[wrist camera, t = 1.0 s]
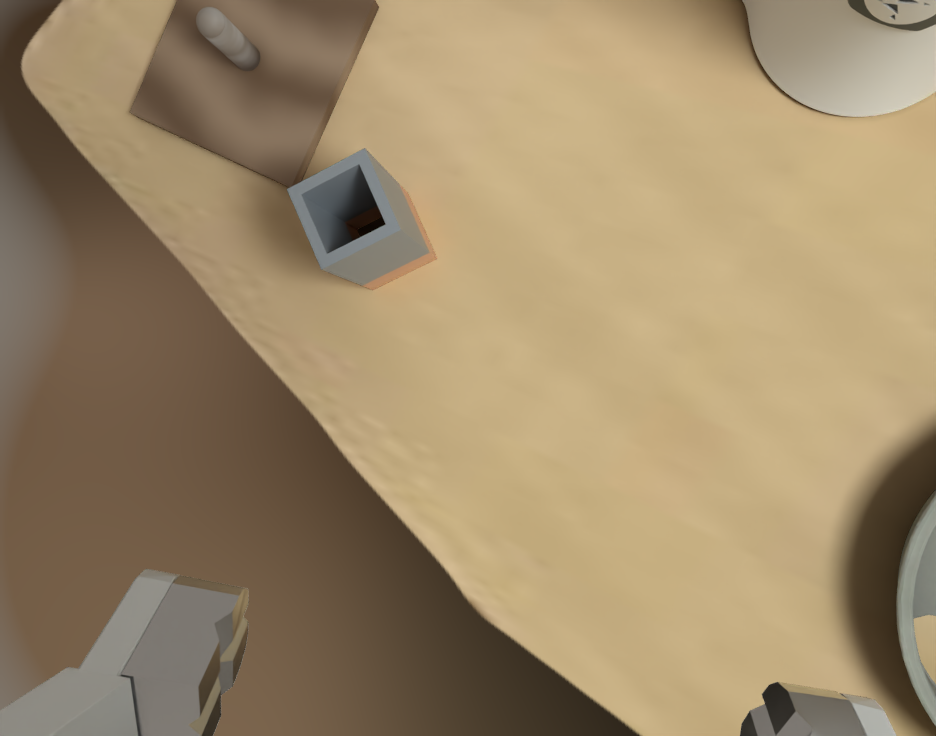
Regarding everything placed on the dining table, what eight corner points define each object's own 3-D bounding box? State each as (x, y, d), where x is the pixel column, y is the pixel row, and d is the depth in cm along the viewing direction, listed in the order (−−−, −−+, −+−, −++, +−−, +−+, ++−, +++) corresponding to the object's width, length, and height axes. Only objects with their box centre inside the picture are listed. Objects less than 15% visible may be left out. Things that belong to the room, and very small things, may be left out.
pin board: (213, -60, 51) (156, -127, 44) (378, 7, 49) (346, -53, 42) (138, 117, 52) (71, 78, 45) (296, 190, 50) (251, 162, 43)
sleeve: (408, 193, 49) (364, 148, 39) (437, 258, 48) (401, 229, 38) (345, 225, 49) (286, 189, 40) (373, 289, 49) (321, 269, 39)
